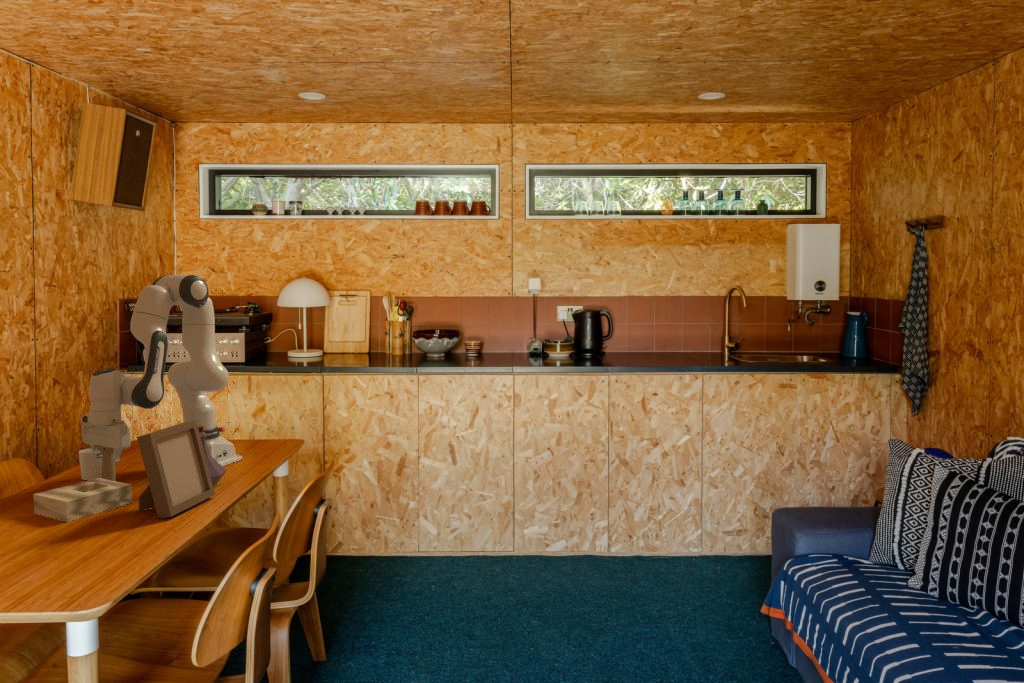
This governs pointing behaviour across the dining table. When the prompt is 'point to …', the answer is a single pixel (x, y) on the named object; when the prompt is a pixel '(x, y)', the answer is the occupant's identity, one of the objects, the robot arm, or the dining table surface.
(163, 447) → the photo frame
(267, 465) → the dining table surface
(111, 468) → the handle
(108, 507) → the socket block
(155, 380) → the robot arm
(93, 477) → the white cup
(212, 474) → the flask
